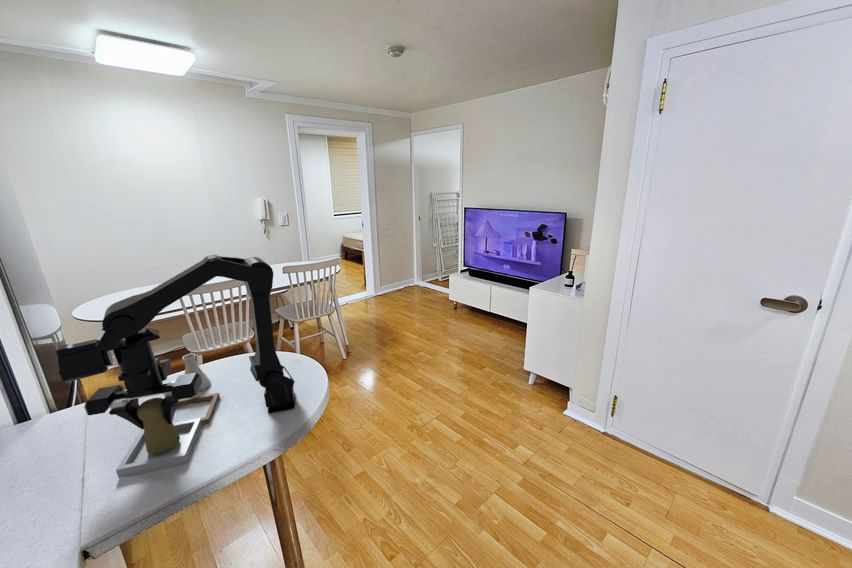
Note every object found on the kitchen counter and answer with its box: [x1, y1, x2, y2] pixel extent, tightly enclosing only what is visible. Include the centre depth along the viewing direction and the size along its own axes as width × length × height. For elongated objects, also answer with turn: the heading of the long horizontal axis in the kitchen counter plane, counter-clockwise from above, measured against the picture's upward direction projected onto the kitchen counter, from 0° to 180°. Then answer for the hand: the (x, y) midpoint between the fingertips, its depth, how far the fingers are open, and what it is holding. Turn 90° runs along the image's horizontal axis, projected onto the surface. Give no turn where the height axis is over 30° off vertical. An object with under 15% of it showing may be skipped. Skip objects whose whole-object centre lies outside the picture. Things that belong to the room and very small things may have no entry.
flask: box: [182, 352, 212, 393], centre depth 97 cm, size 7×7×10 cm
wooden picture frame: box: [174, 392, 221, 426], centre depth 88 cm, size 11×11×2 cm
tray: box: [115, 417, 204, 479], centre depth 77 cm, size 12×12×2 cm
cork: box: [137, 397, 180, 454], centre depth 75 cm, size 6×6×11 cm
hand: (157, 425), depth 75 cm, fingers closed on cork, 5 cm apart
